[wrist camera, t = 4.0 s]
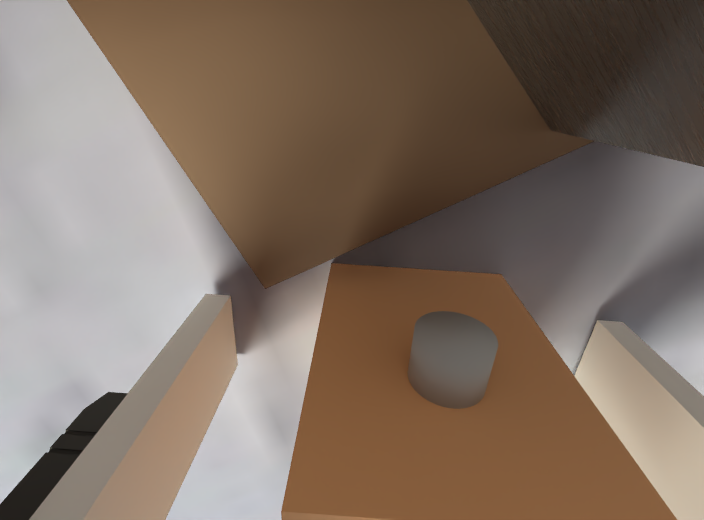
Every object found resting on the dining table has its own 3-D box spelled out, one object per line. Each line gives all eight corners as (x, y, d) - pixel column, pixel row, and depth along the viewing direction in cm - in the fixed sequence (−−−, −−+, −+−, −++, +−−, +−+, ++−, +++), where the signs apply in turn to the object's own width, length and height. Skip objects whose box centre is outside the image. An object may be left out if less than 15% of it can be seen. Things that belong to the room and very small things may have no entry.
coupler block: (332, 231, 10) (278, 457, 4) (508, 242, 10) (734, 488, 4) (326, 409, 13) (290, 699, 7) (463, 419, 13) (550, 719, 7)
